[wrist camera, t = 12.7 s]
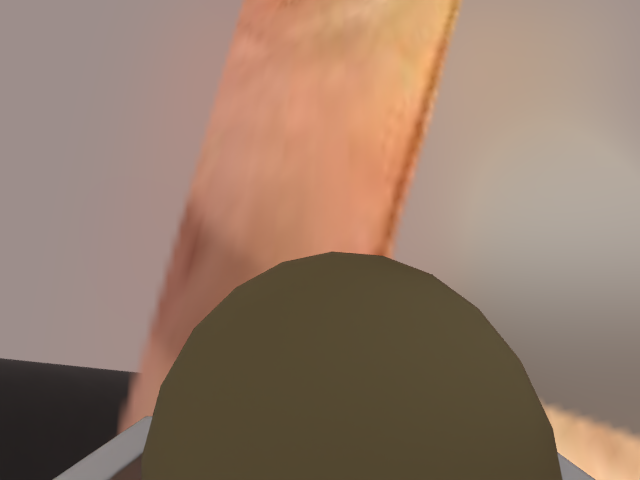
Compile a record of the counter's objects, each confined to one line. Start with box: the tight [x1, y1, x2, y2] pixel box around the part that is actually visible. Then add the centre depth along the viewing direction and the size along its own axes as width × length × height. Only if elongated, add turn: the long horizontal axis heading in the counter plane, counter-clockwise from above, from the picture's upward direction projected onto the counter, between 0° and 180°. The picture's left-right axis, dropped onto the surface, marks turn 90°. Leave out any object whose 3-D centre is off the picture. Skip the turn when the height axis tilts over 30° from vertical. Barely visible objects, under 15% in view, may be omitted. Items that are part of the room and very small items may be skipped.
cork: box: [141, 252, 563, 480], centre depth 8 cm, size 6×6×11 cm
